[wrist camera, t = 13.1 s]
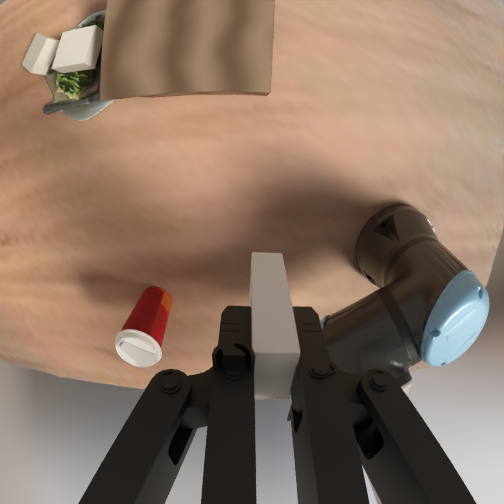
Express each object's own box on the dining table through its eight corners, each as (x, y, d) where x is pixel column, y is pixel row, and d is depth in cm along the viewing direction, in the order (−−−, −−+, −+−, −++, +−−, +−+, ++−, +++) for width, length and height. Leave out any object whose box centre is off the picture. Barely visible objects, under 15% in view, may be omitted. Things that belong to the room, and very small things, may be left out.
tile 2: (61, 41, 28) (47, 38, 25) (45, 75, 30) (30, 73, 27) (50, 35, 28) (37, 32, 26) (34, 66, 31) (21, 64, 28)
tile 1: (62, 32, 25) (73, 38, 28) (51, 68, 26) (62, 73, 29) (96, 25, 25) (105, 32, 28) (84, 63, 27) (94, 68, 29)
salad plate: (68, 148, 39) (53, 154, 35) (32, 71, 31) (16, 71, 27) (162, 81, 35) (153, 79, 31) (118, -1, 28) (106, -9, 24)
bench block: (271, -3, 29) (276, -28, 21) (266, 95, 36) (270, 92, 28) (134, 5, 28) (109, -12, 20) (128, 100, 36) (100, 100, 28)
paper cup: (131, 298, 52) (105, 350, 40) (151, 274, 50) (125, 327, 37) (163, 321, 55) (145, 375, 43) (185, 299, 52) (169, 356, 40)
